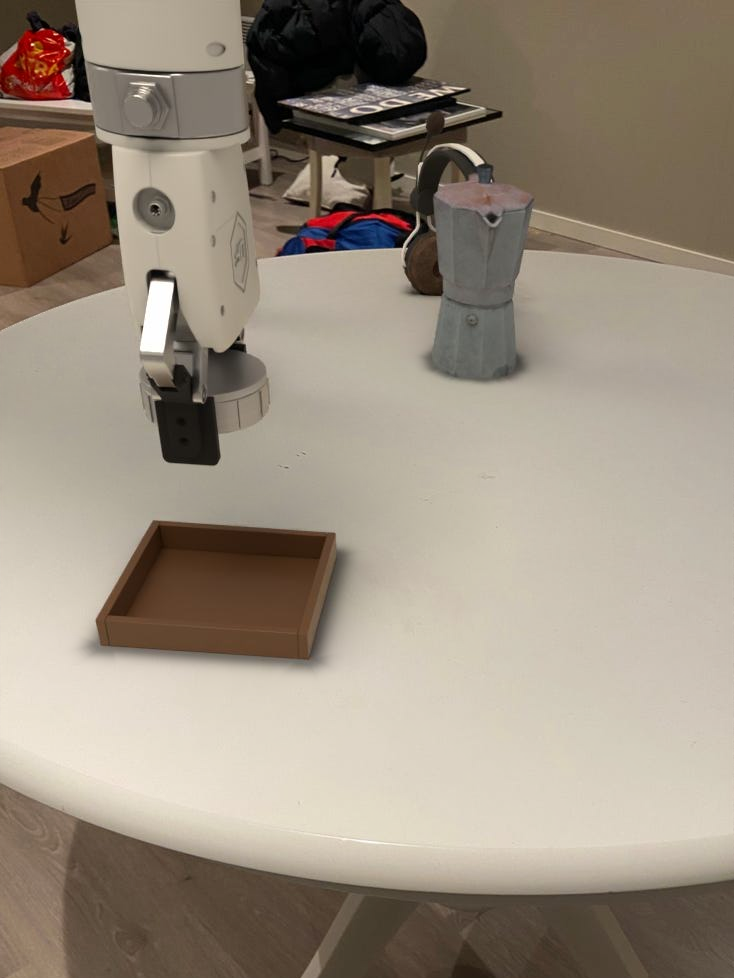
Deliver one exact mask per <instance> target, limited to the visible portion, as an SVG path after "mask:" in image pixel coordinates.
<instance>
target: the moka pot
mask: <svg viewBox="0 0 734 978" xmlns="http://www.w3.org/2000/svg"><path fill="white" fill-rule="evenodd" d="M494 169H495V167H494V165H493V164H490V163H488V162H487V163H483V164H479V165H478V166H473V167H472V169H471V171H470V174H469V175H468V182H467V181H461V182H460V181H459V182H454V183H446V184H444V185H443V186H441V188H440V189H438V191H437V192H436V193H435V194H434V197H433V203H434V214H433V215H434V225H435V229H436V237H437V249H438V262H439V272H440V274H441V275H442V276H443V292H444V293H443V294H441V298H440V304H439V311H438V316H437V322H436V328H435V333H434V334H435V335H434V340H433V346H432V351H431V362H432V364H433V366H434V368H435V369H436V370H437V371H440V372H442V373H443V374H447V375H449V376H451V377H453V378H460V379H469V380H478V381H485V380H486V381H487V380H491V379H497V378H504V377H507V376H508V375H510V374H511V373H513V371H514V370H515V369H517V368H518V361H517V342H516V326H515V308H514V307H515V306H514V300H513V297H514V294H515V287H516V280H517V279H518V276H519V274H520V271H521V266H522V261H523V256H524V251H525V248H526V247H525V246H526V242H527V236H528V232H529V227H530V222H531V219H532V218H531V217H532V212H533V207H534V203H535V197H534V195H532V194H531V193H529V192H527V191H525V190H523V189H521V188H519V187H518V186H515V185H513V184H509V183H501V182H496V181H495V182H491V178H492V175H493V173H494Z"/></svg>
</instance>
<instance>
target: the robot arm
mask: <svg viewBox="0 0 734 978" xmlns="http://www.w3.org/2000/svg"><path fill="white" fill-rule="evenodd" d="M74 3H75V11H76V16H77V17H76V18H77V24H78V28H79V29H78V30H79V34H80V41H81V47H82V53H83V59H84V67H85V72H86V81H87V85H88V91H89V92H88V93H89V98H90V104H91V110H92V114H93V115H92V116H93V123H94V128H95V135H96V137H97V139H98V140H100V141H102V142H103V143H106V144H109V145H111V154H112V171H113V183H114V186H113V187H114V196H115V197H114V198H115V209H116V220H117V229H118V238H119V248H120V256H121V265H122V272H123V279H124V285H125V291H126V298H127V299H126V300H127V304H128V309H129V315H130V319H131V324H132V328H133V331H134V335H135V338H136V339H137V340H138V342H139V343H140V347H139V361H140V363H141V366H143V367H144V368H145V370H146V376H148V379H147V380H149V382H150V385H151V396H152V399H153V400H154V404H155V410H156V417H157V424H158V426H157V429H158V436H159V443H160V448H161V455H162V459H163V460H164V462H166V463H168V464H179V465H192V466H193V465H194V466H207V467H208V466H209V467H215V466H217V465H218V464H219V462H220V460H221V458H222V457H221V456H222V454H221V447H220V438H219V434H218V428H217V419H216V410H215V401H214V397H208V396H207V382H208V348H213V350H214V351H215V352H224V351H225V350H227V349H231V350H237V351H241V352H244V353H247V344H246V343H244V344H236V342H243V341H244V342H245V336H246V334H245V333H246V331H245V330H246V329H245V327H246V325H247V323H248V321H249V320H250V318H251V317H252V315H253V313H254V311H255V310H256V308H257V306H258V304H259V302H260V297H261V283H260V274H259V273H260V272H259V265H258V257H257V249H256V239H255V230H254V224H253V223H254V222H253V216H252V215H253V214H252V207H251V206H252V205H251V199H250V191H249V185H248V177H247V172H246V171H247V170H246V165H245V159H244V154H243V153H244V152H243V149H242V145H243V144H245V143H247V142H248V141H249V140H250V139H251V126H250V113H249V102H248V90H247V89H248V88H247V75H246V63H245V53H244V42H243V41H244V40H243V38H244V37H243V27H242V12H241V11H242V10H241V0H74ZM175 331H185V332H192V333H193V335H194V337H195V338H196V341H180V340H174V338H175ZM175 354H183V355H192V376H191V375H190V373H189V372H188V370H187V369H186V368H185V366H184V365H179V364H177V363H176V359H177V358H176V357H175ZM247 354H248V353H247Z"/></svg>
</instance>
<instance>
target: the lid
mask: <svg viewBox="0 0 734 978" xmlns="http://www.w3.org/2000/svg"><path fill="white" fill-rule="evenodd" d="M175 357H176V358H177V359H176V363H177V364H179V365H184V366H185V368H186V369H187V370H188V372H189V373H190V375H191V376H192V355H183V354H175ZM267 375H268V374H267V367H266V364H264V362H263V361H262V360H261V359H260V358H258V357H256V356H254V355H253V354H250V353H244V352H241V351H237V350H231V349H227V350H225V351H224V352H215V351H214V350H213V348H208V382H207V396H208V397H214V401H215V410H216V419H217V428H218V435H221V434H228V433H232V432H237V431H240V430H244V429H246V428H249V427H252V426H253V425H255V424H258V423H259V422H260V421H262V420H263V419H264V418H265V417H266V416H267V414H268V412H269V410H270V405H271V396H270V382H269V378H268V376H267ZM147 379H148V376H146V370H145V368H144V367H143V365H141V368H140V370H139V381H140V382H139V390H140V396H141V402H142V408H143V410H144V412H145V415H146V418H147V420H149V422H151V423H152V424H153V425H155V426H156V427H158V424H157V417H156V410H155V404H154V400H153V399H152V396H151V385H150V382H149V380H147Z"/></svg>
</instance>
